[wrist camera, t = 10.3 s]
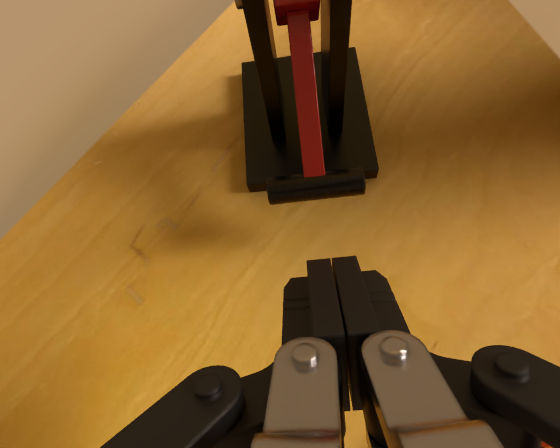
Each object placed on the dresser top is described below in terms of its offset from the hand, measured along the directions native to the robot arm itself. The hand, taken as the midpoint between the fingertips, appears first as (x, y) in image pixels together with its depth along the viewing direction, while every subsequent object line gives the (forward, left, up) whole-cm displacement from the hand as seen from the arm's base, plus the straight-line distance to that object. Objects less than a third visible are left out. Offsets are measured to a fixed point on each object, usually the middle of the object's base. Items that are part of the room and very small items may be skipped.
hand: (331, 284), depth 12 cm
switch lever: (-9, -7, -5) cm, 13 cm away
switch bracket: (-12, -10, -12) cm, 20 cm away
